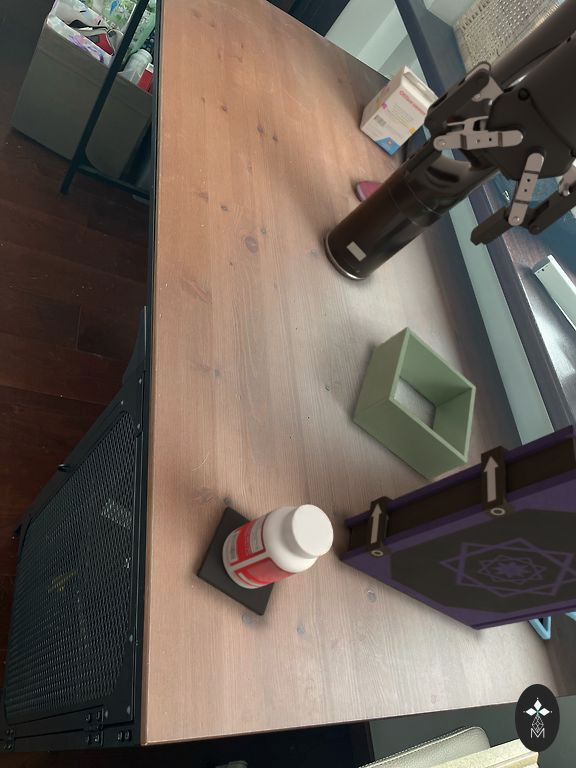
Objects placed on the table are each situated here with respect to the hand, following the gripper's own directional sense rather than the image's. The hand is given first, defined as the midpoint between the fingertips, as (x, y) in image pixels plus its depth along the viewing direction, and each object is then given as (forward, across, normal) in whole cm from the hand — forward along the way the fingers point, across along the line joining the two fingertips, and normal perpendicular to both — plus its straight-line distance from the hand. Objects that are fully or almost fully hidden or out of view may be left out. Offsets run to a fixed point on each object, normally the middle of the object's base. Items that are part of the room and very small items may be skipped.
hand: (441, 207), depth 56 cm
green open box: (+30, -23, -9) cm, 39 cm away
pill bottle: (+30, -8, +24) cm, 39 cm away
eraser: (+30, -7, -51) cm, 60 cm away
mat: (+30, -8, +24) cm, 39 cm away
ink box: (+30, -2, -71) cm, 77 cm away
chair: (+30, -52, +5) cm, 60 cm away
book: (+30, -30, +13) cm, 45 cm away
